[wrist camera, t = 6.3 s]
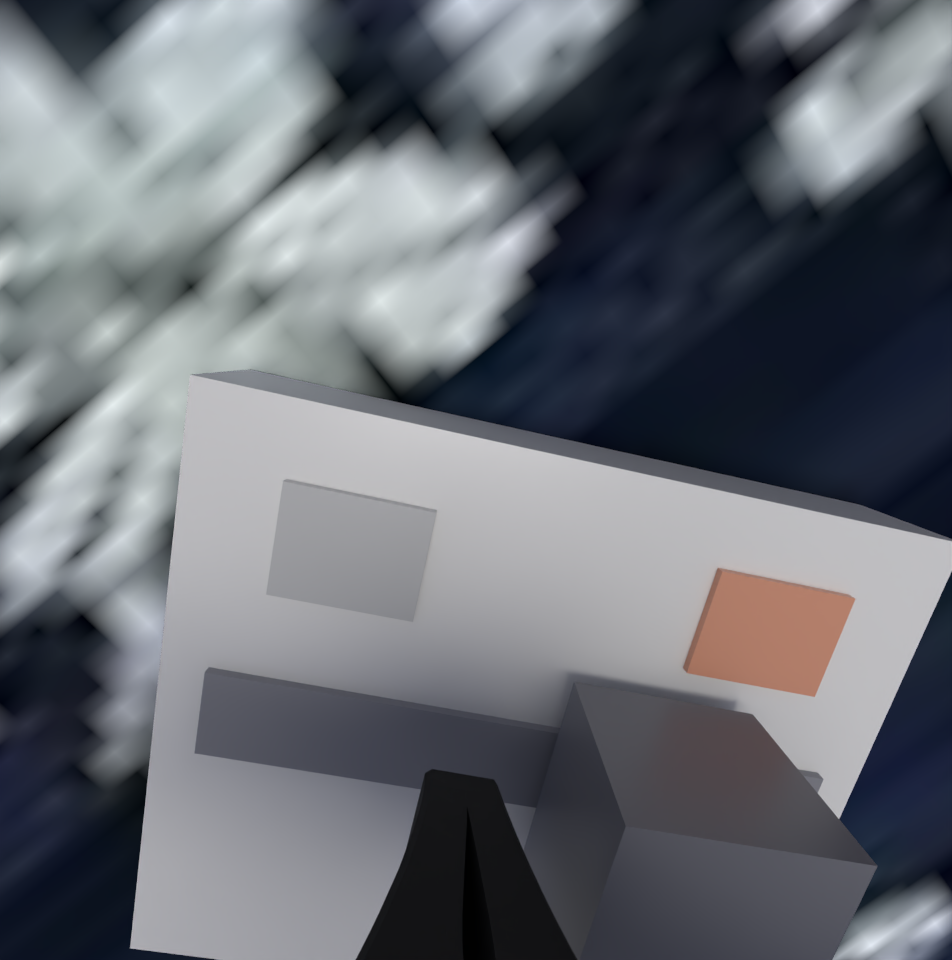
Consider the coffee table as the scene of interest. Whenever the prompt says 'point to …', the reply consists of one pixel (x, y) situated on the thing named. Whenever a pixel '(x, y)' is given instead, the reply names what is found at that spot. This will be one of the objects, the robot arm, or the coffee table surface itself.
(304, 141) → the coffee table surface
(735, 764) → the switch lever
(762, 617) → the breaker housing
